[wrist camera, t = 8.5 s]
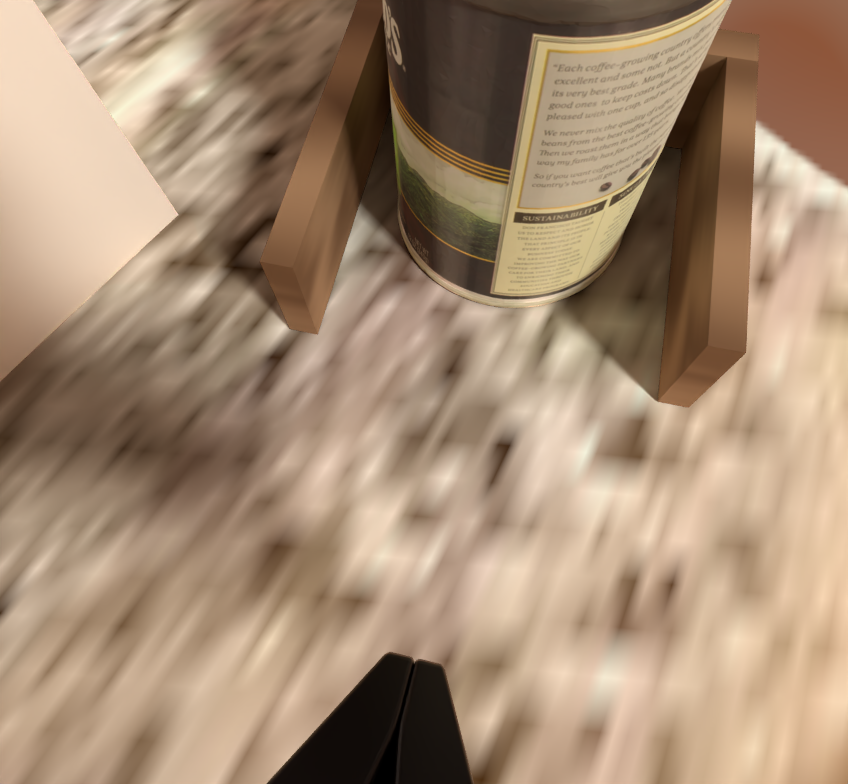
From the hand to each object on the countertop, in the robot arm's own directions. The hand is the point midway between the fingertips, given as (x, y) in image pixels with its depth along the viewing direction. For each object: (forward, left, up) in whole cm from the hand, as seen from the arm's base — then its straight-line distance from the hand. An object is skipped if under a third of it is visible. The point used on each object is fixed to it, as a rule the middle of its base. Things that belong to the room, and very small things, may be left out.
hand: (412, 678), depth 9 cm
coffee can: (+13, +14, -14) cm, 24 cm away
